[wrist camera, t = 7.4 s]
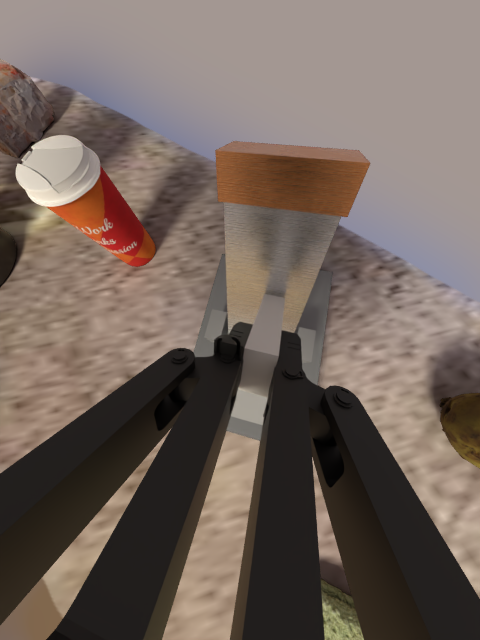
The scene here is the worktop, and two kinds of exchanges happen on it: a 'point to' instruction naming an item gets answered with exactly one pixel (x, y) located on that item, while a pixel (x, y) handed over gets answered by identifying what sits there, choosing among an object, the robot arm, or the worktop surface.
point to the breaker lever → (281, 220)
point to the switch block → (309, 330)
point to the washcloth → (339, 615)
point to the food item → (20, 111)
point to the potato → (463, 425)
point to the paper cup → (84, 196)
